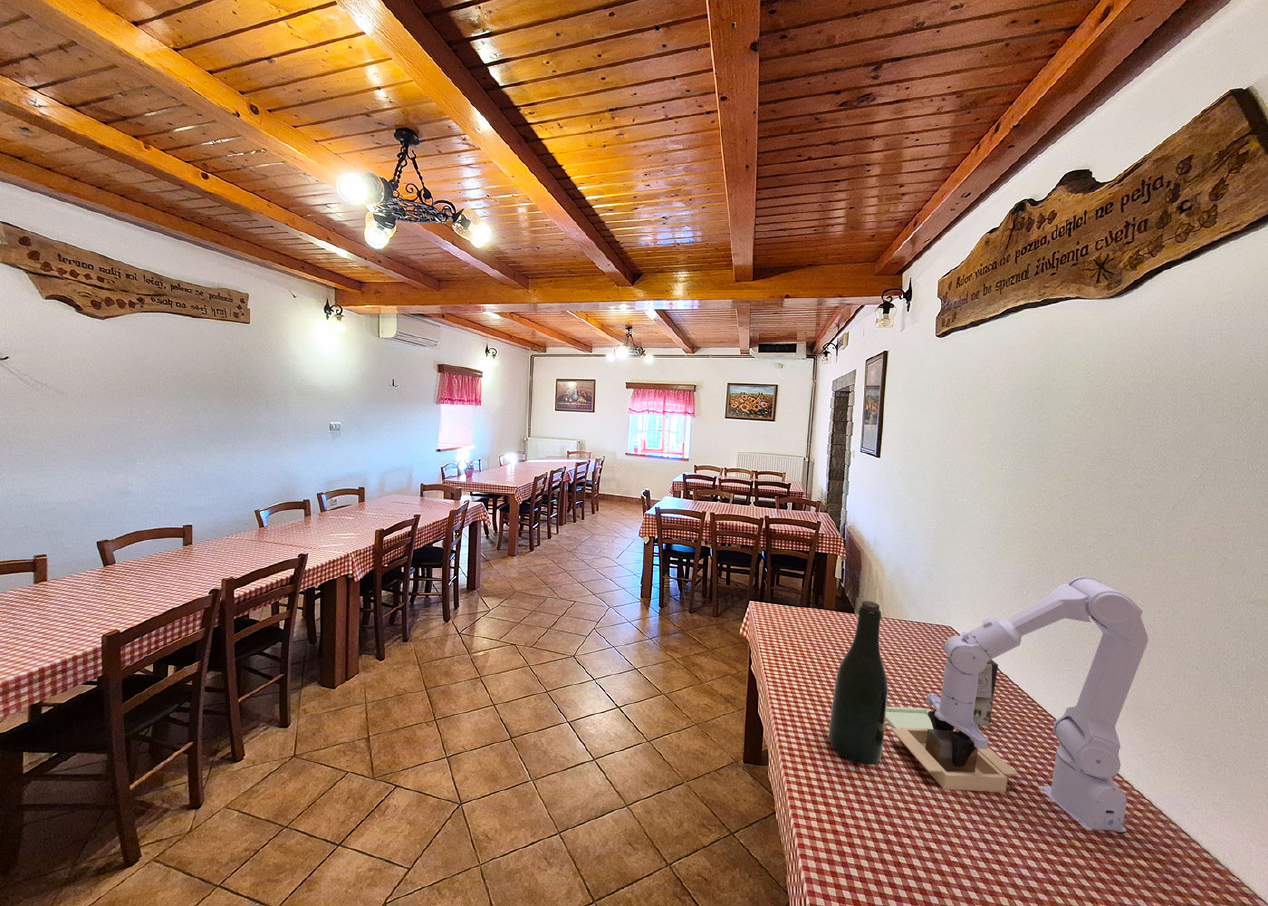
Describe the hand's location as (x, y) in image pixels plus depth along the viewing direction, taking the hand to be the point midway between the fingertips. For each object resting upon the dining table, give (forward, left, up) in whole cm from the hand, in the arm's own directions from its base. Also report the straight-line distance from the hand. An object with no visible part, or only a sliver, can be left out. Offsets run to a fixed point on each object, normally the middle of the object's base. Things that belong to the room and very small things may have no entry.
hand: (950, 756), depth 94 cm
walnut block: (0, 0, -2) cm, 2 cm away
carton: (0, 0, -2) cm, 2 cm away
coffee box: (+18, -19, -2) cm, 26 cm away
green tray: (+12, -1, -2) cm, 13 cm away
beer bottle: (+4, +18, -2) cm, 19 cm away
